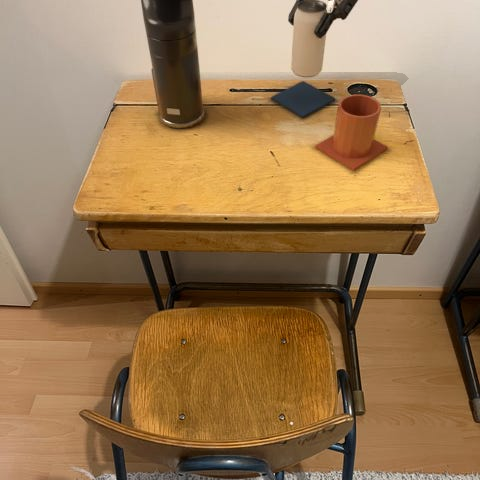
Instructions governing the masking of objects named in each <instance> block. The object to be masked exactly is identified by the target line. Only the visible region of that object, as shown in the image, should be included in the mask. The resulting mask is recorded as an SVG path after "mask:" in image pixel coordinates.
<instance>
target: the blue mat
mask: <svg viewBox="0 0 480 480" xmlns="http://www.w3.org/2000/svg"><path fill="white" fill-rule="evenodd" d="M270 100H271V101H273V102H274V103H276V104H278V105H279V106H281V107H283V108H284V109H286V110H287V111H290V112H291V113H293V114H295V115H297V117H300V118H302V119H304V118H306V117H308V116H310V115H311V114H313V113H316V112H317V111H319V110H321V109H323V108H324V107H326V106H329V105H330V104H332V103H334V102H335V101H336V98H335V97H334V96H332V95H331V94H329V93H326V92H324V91H323V90H321V89H319V88H317V87H315V86H313V85H312V84H309V83H308V82H307V81H304V80H302V81H300V82H298V83H296V84H294V85H292V86H290V87H288V88H286V89H284V90H283V91H280V92H278V93H276V94H274V95H272V96H271V97H270Z"/></svg>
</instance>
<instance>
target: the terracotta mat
mask: <svg viewBox="0 0 480 480" xmlns="http://www.w3.org/2000/svg"><path fill="white" fill-rule="evenodd" d="M332 142H333V135H331V136H329V137H328V138H326V139H324V140H323V141H321V142H319V143H317V144H316V145H315V149H316V150H318V151H319V152H321V153H323V154H325V155H326V156H328V157H330V158H331V159H332V160H334V161H335V162H338V163H339V164H341V165H343V166H344V167H346V168H347V169H349V170H351V171H352V172H355V171H356V170H358V169H359V168H361V167H363V166H364V165H366V164H367V163H369V162H370V161H372V160H374V159H375V158H377V157H378V156H380V155H381V154H383V153H385V152H386V151H388V148H389V146H387V145H385V144H383V143H382V142H380V141H378V140H376V139H374V141H373V145H372V149H371V151H370V153H369V154H367V155H365V156H364V157H359V158H348V157H344V156H341V155H339V154H338V153H336V152H335V151H334V149H333V147H332Z"/></svg>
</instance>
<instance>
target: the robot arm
mask: <svg viewBox="0 0 480 480" xmlns="http://www.w3.org/2000/svg"><path fill="white" fill-rule="evenodd" d="M301 1H304V0H295V2H294V5H293V6H292V8H291V10H290V12H289V13H288V15H287V16H288V18H287V19H288V20H287V21H288V23H289V24H290V25H291V26H292V27H294V15H295V12H296V10H297V4H298V3H299V2H301ZM327 1H328V2H327V8H326V10H327V13H324V15H323V16H322V18H321V20H320V22H319V23H318V25H317V27H316V29H315V31H314V34H315V35H316V36H317V37H318V38H320V39H321V38H322V37H323V36H324V35H325V34H326V35H327V33H328V31H329V30H330V28H331V26H332V25H333V23H334V21H336V20H337V19H338V20H339V19H340V20H341V21H345V20H346V19H347V18H348V17H349V15H350V14H351V12H352V10H353V9H354V8H355V6H356V4H357V3H358V1H359V0H327ZM140 4H141V11H142V18H143V19H142V20H143V23H144V30H145V35H146V40H147V46H148V51H149V56H150V63H151V76H152V80H153V82H152V83H153V88H154V92H155V93H154V94H155V98H156V104H157V110H158V114H159V117H160V121H161V123H163V124H164V125H165V126H167V127H169V128H172V129H187V128H191V127H194V126H196V125H198V124H200V123H201V122H202V121H203V119H204V118H205V109H204V102H203V90H202V80H201V70H200V58H199V48H198V47H199V46H198V39H197V38H198V37H197V27H196V18H195V8H194V0H140Z"/></svg>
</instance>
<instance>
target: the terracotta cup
mask: <svg viewBox="0 0 480 480" xmlns="http://www.w3.org/2000/svg"><path fill="white" fill-rule="evenodd" d="M381 111H382V104H381V103H380V102H379V101H378V99H376V98H375V97H372V96H370V95H365V94H358V93H357V94H356V93H355V94H350V95H346V96H344V97H343V98H341V99H340V101H339V102H338V104H337V111H336V116H335V123H334V129H333V135H332V136H333V142H332V147H333V149H334V151H335V152H336V153H338V154H339V155H341V156H344V157H348V158H359V157H364V156H365V155H367V154H369V153H370V151H371V149H372V145H373V141H374V140H375V136H376V133H377V129H378V124H379V120H380V116H381Z"/></svg>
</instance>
